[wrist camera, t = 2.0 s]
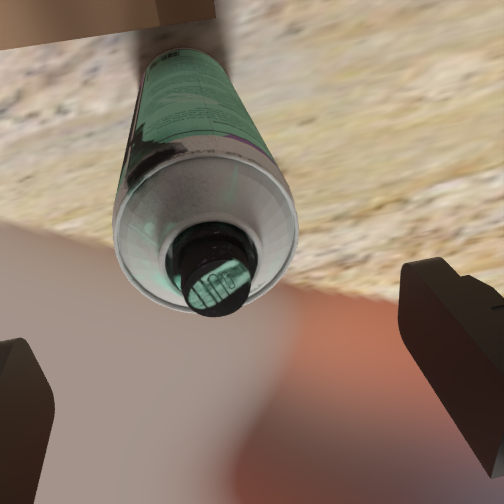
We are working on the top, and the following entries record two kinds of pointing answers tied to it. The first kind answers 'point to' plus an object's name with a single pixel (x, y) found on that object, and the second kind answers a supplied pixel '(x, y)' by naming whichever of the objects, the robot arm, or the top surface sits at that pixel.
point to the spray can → (199, 193)
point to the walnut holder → (90, 18)
